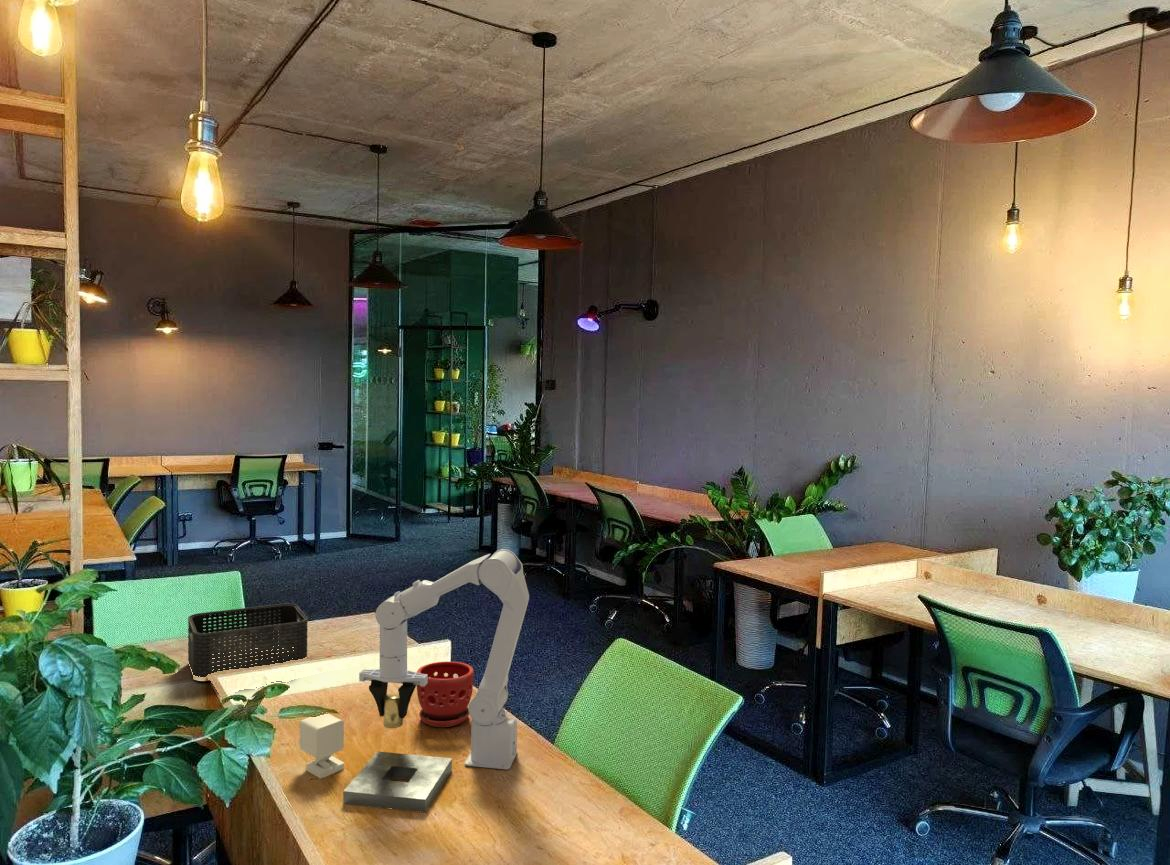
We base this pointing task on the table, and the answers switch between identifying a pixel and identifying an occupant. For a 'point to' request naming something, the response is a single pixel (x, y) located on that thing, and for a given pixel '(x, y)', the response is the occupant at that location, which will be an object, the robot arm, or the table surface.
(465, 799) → the table surface
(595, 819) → the table surface
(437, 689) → the plant pot
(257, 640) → the storage bin
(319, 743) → the security camera
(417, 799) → the jig plate
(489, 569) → the robot arm
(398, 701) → the cylinder
